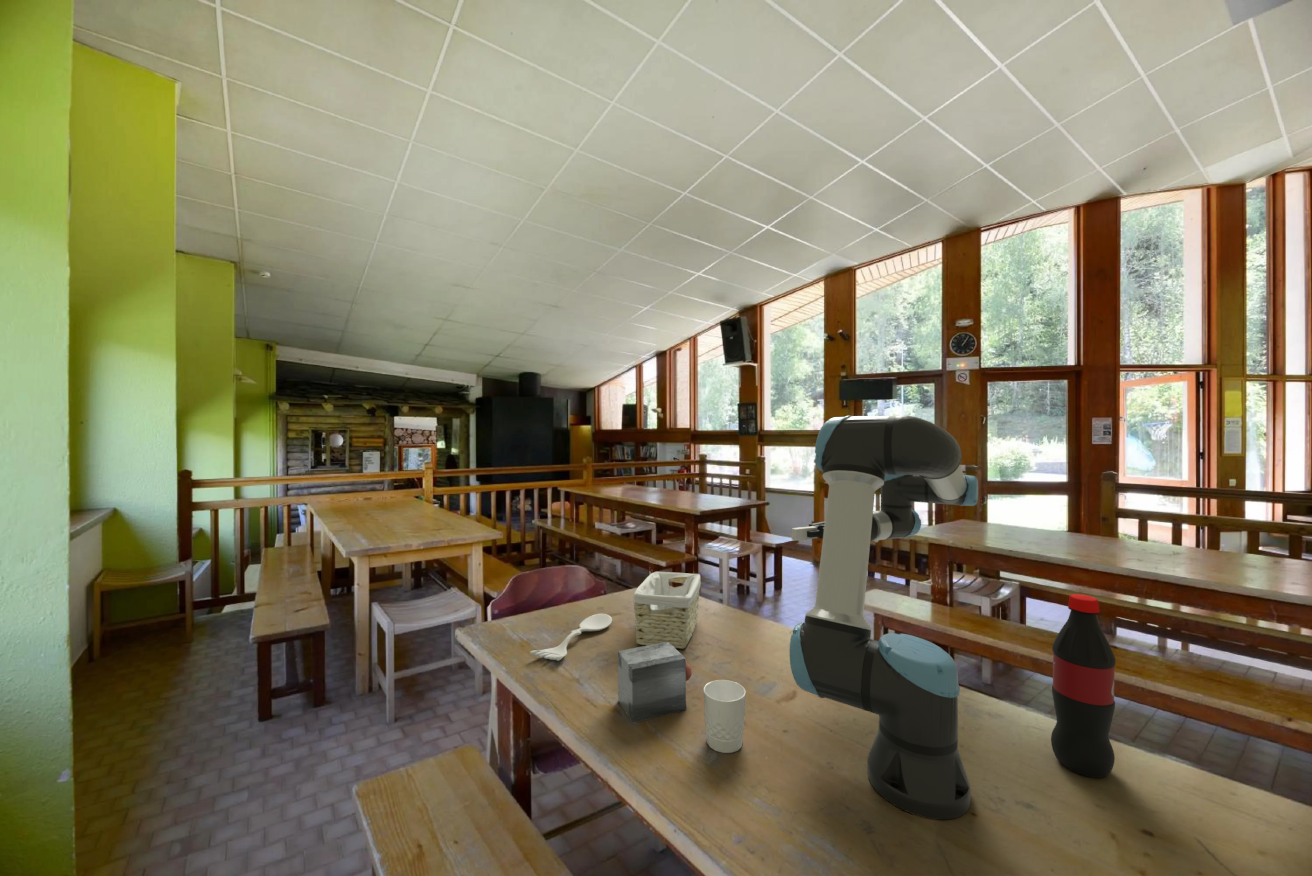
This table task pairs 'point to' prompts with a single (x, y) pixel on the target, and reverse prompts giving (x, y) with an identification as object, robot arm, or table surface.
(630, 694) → the block
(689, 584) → the storage basket
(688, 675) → the plunger
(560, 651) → the white plastic spork
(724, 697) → the white cup
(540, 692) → the table surface
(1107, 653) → the cola bottle
